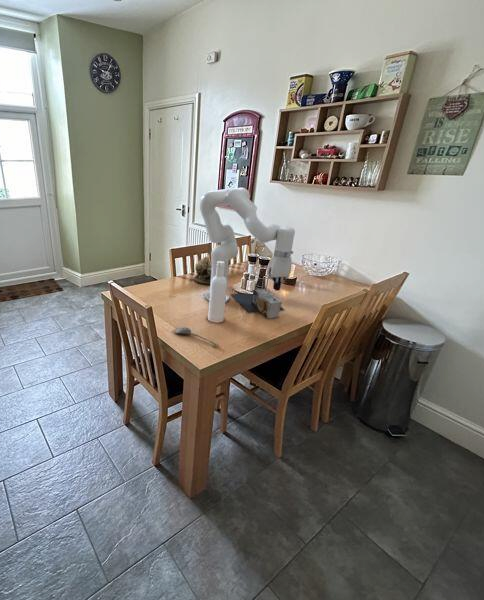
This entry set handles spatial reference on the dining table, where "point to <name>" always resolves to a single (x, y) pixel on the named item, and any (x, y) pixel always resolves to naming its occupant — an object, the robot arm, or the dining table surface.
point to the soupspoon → (188, 331)
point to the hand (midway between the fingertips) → (276, 289)
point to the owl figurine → (203, 271)
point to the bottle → (217, 295)
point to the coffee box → (266, 303)
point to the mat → (246, 301)
